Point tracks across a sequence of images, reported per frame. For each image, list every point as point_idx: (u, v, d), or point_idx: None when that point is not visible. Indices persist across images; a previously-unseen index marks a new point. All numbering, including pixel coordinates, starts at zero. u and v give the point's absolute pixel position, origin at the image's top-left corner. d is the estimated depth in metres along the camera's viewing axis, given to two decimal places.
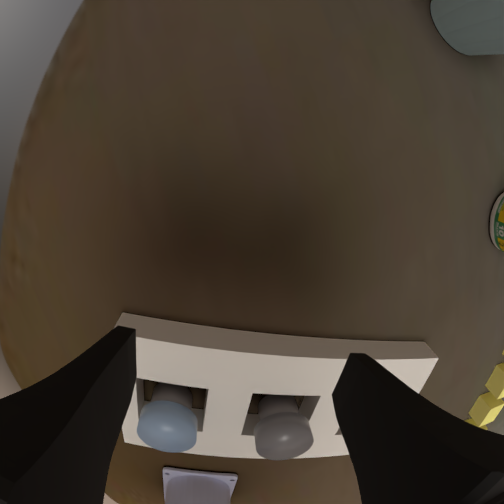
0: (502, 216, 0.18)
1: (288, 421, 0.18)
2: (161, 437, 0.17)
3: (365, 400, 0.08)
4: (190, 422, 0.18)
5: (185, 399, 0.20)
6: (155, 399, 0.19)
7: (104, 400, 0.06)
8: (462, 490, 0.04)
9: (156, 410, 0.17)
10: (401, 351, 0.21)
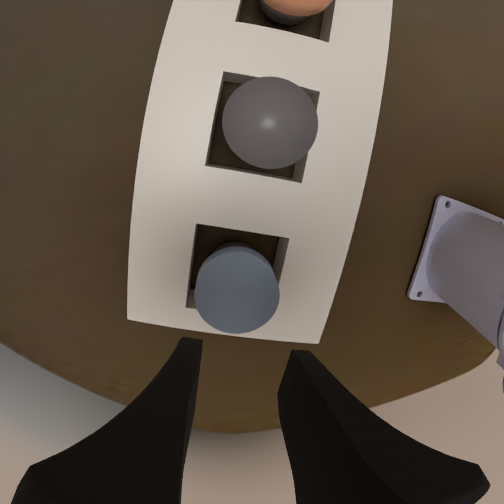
0: None
1: None
2: (240, 304, 0.15)
3: (301, 401, 0.08)
4: (214, 259, 0.14)
5: None
6: None
7: (188, 416, 0.07)
8: None
9: None
10: None
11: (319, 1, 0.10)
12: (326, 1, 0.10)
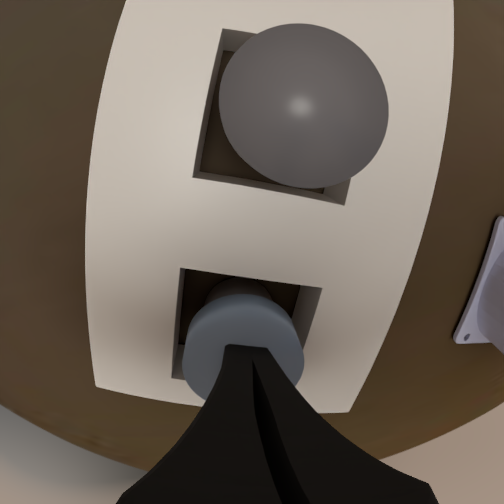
0: None
1: None
2: None
3: None
4: (210, 317, 0.10)
5: (216, 298, 0.12)
6: None
7: None
8: None
9: None
10: None
11: None
12: None
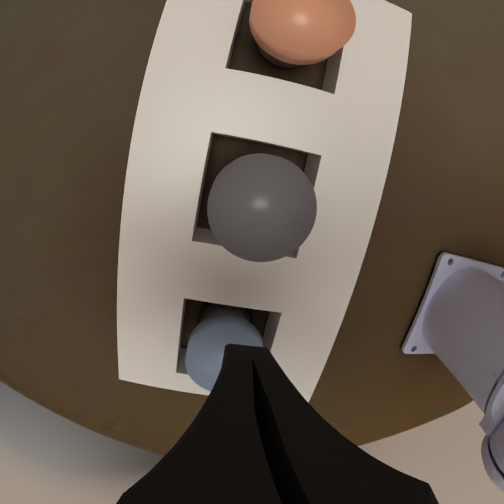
0: None
1: None
2: None
3: None
4: (204, 331, 0.15)
5: (209, 316, 0.17)
6: None
7: None
8: None
9: None
10: None
11: (326, 51, 0.09)
12: (335, 50, 0.09)
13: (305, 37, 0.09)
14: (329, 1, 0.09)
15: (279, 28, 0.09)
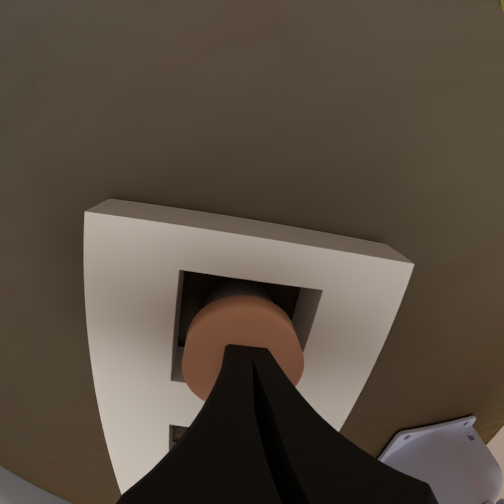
0: None
1: None
2: None
3: None
4: None
5: None
6: None
7: None
8: None
9: None
10: None
11: None
12: None
13: None
14: None
15: None
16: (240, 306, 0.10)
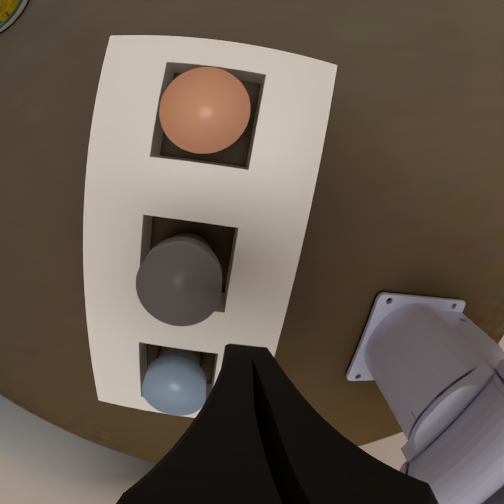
0: None
1: None
2: (176, 399, 0.18)
3: None
4: (154, 368, 0.17)
5: (163, 353, 0.20)
6: None
7: None
8: None
9: None
10: None
11: (221, 147, 0.13)
12: (230, 144, 0.13)
13: (203, 137, 0.13)
14: (225, 95, 0.12)
15: (181, 132, 0.13)
16: None
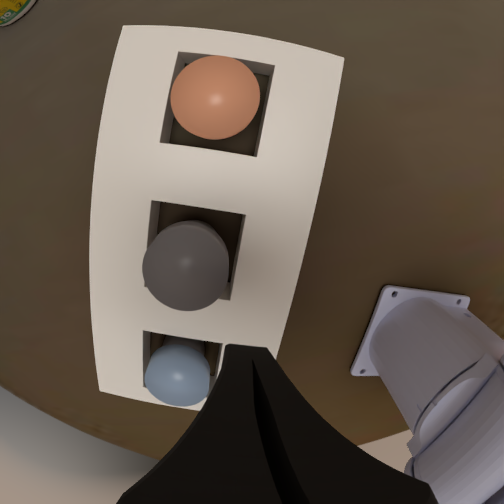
0: None
1: None
2: (179, 389, 0.18)
3: None
4: (157, 357, 0.17)
5: (167, 343, 0.20)
6: None
7: None
8: None
9: None
10: None
11: (231, 133, 0.13)
12: (239, 130, 0.13)
13: (213, 123, 0.13)
14: (236, 82, 0.12)
15: (192, 117, 0.13)
16: None
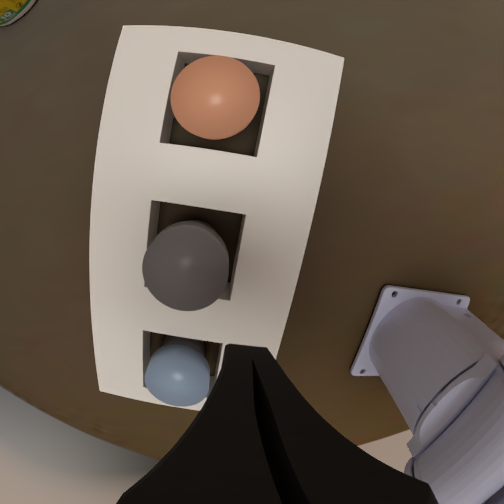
0: None
1: None
2: (179, 389, 0.18)
3: None
4: (157, 357, 0.17)
5: (167, 343, 0.20)
6: None
7: None
8: None
9: None
10: None
11: (231, 133, 0.13)
12: (239, 130, 0.13)
13: (213, 123, 0.13)
14: (236, 82, 0.12)
15: (192, 117, 0.13)
16: None
